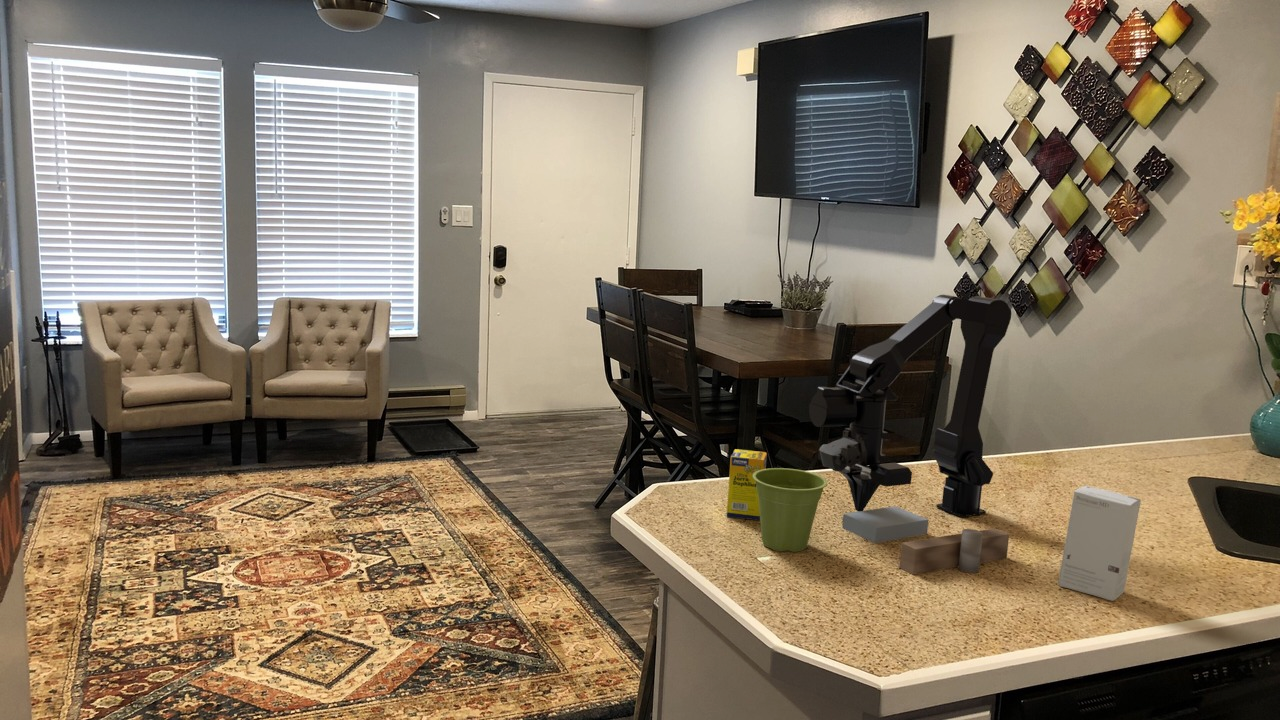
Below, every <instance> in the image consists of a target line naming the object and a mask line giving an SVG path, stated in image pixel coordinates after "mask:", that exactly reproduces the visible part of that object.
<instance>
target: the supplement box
mask: <svg viewBox="0 0 1280 720" xmlns="http://www.w3.org/2000/svg"><path fill="white" fill-rule="evenodd" d="M767 455H768V453H767V452H765V451H755V450H749V449H739V448H737V449H736V448H735V449H734V450H733V453H732V454H731V455H730V461H729V474H728V475H729V478H728V491H727V503H726V505H727V507H726V517H729V518H737V519H746V520H753V521H760V510H759V498H758V493H757V488H756V481H755V480H754V479H753V474H754V473H755V472H756V471H759V470H763V469H767V468H766V467H767V457H768V456H767Z"/></svg>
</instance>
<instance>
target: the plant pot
mask: <svg viewBox="0 0 1280 720" xmlns="http://www.w3.org/2000/svg"><path fill="white" fill-rule="evenodd" d="M753 479H754V480H755V481H756V488H757V493H758V498H759V510H760V520H759V521H760V532H761V533H760V534H761V542H762V545H764V546H765V547H766V548H769V549H771V550H774V551H777V552H785V551H789V552H791V553H797V552H801V551H803V550H804V551H805V549H806V548H807V547H808V544H809V540H810V536H811V532H812V528H813V523H814V521H815V516H816V514H817V513H816V512H817V507H818V505H819V501H820V500H821V498H822V495H823V490H824V488H826V486H827V485H828V480H827V479H826V478H825V477H823V476H822V475H819V474H818V473H814V472H810V471H806V470H802V469H796V468H795V469H794V468H784V467H779V468H778V467H774V468H773V467H771V468H766V469H763V470H759V471H756V472H755V473H754V474H753Z"/></svg>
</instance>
